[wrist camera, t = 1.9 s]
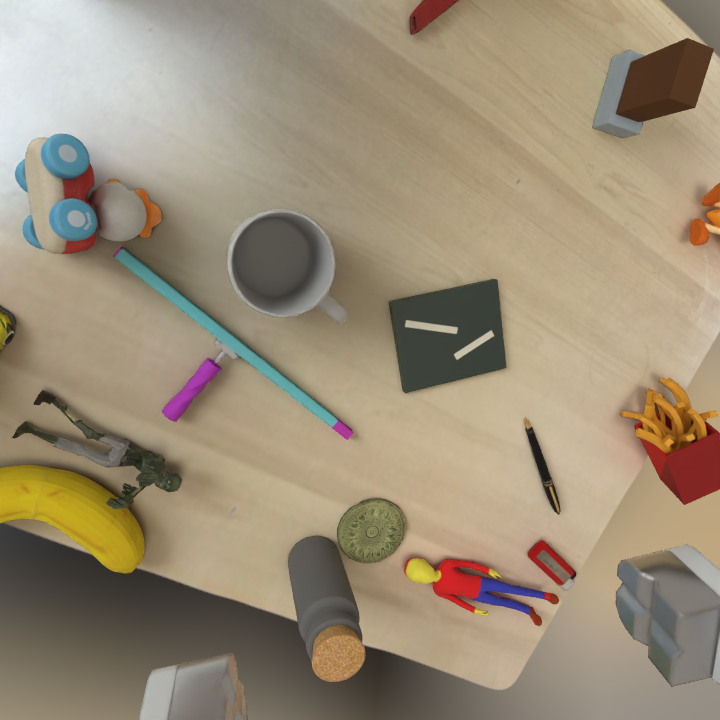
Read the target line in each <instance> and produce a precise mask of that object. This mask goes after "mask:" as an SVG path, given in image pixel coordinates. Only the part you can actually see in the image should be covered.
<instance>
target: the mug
mask: <svg viewBox="0 0 720 720" xmlns="http://www.w3.org/2000/svg"><path fill="white" fill-rule="evenodd" d="M227 263H228V272H229V277H230V280H231V283H232V285H233V287H234V289H235V290H236V292H237V294H238V295H239V296H240V298H241V299H242V300H243V301H244V302H245V303H246V304H247V305H249V306H250V307H251V308H253V309H254V310H256V311H258V312H260V313H262V314H265V315H268V316H272V317H279V318H288V317H294V316H298V315H301V314H303V313H306V312H308V311H309V310H311V309H313V308H314V307H315V306H316V307H318V308H319V309H320V310H322V311H323V312H324V313H325V314H326V315H327V316H329V317H330V318H331V319H332V320H333V321H335V322H336V323H338V324H341V323H343V322H344V321H345V320H346V319H347V317H348V311H347V310H346V309H345V308H344V307H343V306H342V305H341V304H340V303H339V302H337V301H336V300H335V299H334V298H333V297H332V296H331V295H330V294H329V293H328V291H329V290H330V288H331V285H332V283H333V280H334V276H335V270H336V259H335V252H334V248H333V246H332V243H331V241H330V239H329V237H328V235H327V234H326V232H325V231H324V229H323V228H322V227H321V226H320V225H319V224H318V223H317V222H316V221H314V220H313V219H312V218H310V217H309V216H307V215H305V214H303V213H301V212H298V211H295V210H290V209H270V210H266V211H263V212H260V213H258V214H256V215H253V216H251V217H249V218H247V219H246V220H245V221H243V222H242V223H241V224H240V225H239V226H238V227H237V229H236V230H235V231H234V233H233V235H232V236H231V239H230V241H229V245H228V250H227Z"/></svg>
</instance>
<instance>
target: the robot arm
mask: <svg viewBox="0 0 720 720" xmlns="http://www.w3.org/2000/svg"><path fill="white" fill-rule="evenodd" d="M617 576H618V577H619V578H620V579H621V580H622V582H623V583H622V584H621V586H620V587H619V588H618V590H617V591H616V607H617V610H618V613H619V617H620V619H621V621H622V623H623V625H624V626H625V628H626V630H627V631H628V632H629V634H630V635H631V636H632V637H633V639H635V640H637V641H639V642H641V643H642V644H644V645H646V646H648V658H649V659H650V660H651V662H652V663H653V664H654V665H655V666H656V668H657V669H658V670H659V672H660V673H661V674H662V675H663V677H664V678H665V679H666V680H667V682H668V683H669V684H670V685H671V687H673V686H677V685H681V684H686V683H690V682H694V681H698V680H703V679H707V678H711V677H712V680H713V681H715V682H716V683H718V684H719V685H720V569H718V568H717V567H716V566H715V565H714V564H713V563H712V562H710V561H709V560H708V559H707V558H706V557H705V556H704V555H702V554H701V553H700V552H699V551H698V550H697V549H696V548H694V547H692V546H690V545H687V544H686V545H682V546H678V547H674V548H670V549H666V550H664V551H663V550H661V551H657V552H653V553H649V554H645V555H641V556H637V557H633V558H629V559H625V560H621V562H620V563H619V565H618V570H617ZM139 720H248V718H247V704H246V698H245V692H244V689H243V685H242V683H241V682H240V681H238V680H237V664H236V661H235V658H234V654H232V653H230V654H225V655H220V656H215V657H211V658H206V659H201V660H196V661H191V662H186V663H182V664H179V665H175V666H169V667H165V668H160V669H155V670H153V671H152V673H151V675H150V676H149V678H148V682H147V687H146V691H145V696H144V700H143V705H142V709H141V714H140V718H139Z"/></svg>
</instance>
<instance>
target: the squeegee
mask: <svg viewBox="0 0 720 720" xmlns="http://www.w3.org/2000/svg"><path fill="white" fill-rule="evenodd" d="M113 257H114V258H116V259H117V260H118V261H119V262H121V263H122V264H123V265H125V266H126V267H127V268H128V269H130V270H131V271H132V272H134V273H135V274H136V275H137V276H139V277H140V278H141V279H142V280H144V281H145V282H146V283H148V284H149V285H150V286H151V287H153V288H154V289H155V290H156V291H158V292H159V293H160V294H162V295H163V296H164V297H165V298H167V299H168V300H169V301H171V302H172V303H173V304H174V305H176V306H177V307H178V308H179V309H181V310H182V311H183V312H185V313H186V314H187V315H188V316H190V317H191V318H192V319H193V320H195V321H196V322H197V323H199V324H200V325H201V326H202V327H204V328H205V329H206V330H208V331H209V332H210V333H211V334H213V335H214V336H215V337H216V339H217V341H216V342H215V343H214V344H215V345H216V346H217V347H218V348H220V349H221V350H222V352H221V353H220V354H219V355H218V356H217V358H216V360H215V362H214V361H213V360H211V359H209V358H207V360H206V361H205V362H204V363H203V364H202V365H201V367H200V368H199V369H198V371H197V373H196V374H195V375H194V376H193V377H192V378H191V379H190V380H189V381H188V383H187V385H186V386H185V388H184V389H183V390H182V391H181V392H180V393H178V394H177V395H176V396H175V397H174V398H173V399H172V400H171V401H170V402H169V403H168V404H167V406H166V407H165V408H164V409H163V410H162V413H163V414H164V415H165V416H166V417H167V418H168V419H170V420H171V421H175V422H176V421H177V420H178V419H179V418H180V416H181V415H182V414H183V413H184V412H185V411H186V409H187V408H188V406H189V405H190V403H191V402H192V400H193V399H194V397H196V396H197V395H198V394H199V393H200V392H201V391H202V390H203V389H204V388H205V386H206V385H207V383H208V382H210V381H211V380H212V379H213V378H214V377H215V376H216V375H217V374H218V373H219V371H220V370H221V367H220V366H219V365H218V364H217V363H218V362H219V361H221V360H222V359H223V358H224V356H225V355H226V354H227V355H229V356H230V357H231V358H232V359H234V360H235V361H236V360H237V358H238V357H242V358H243V359H245V360H246V361H247V362H248V363H250V364H251V365H252V366H253V367H255V368H256V369H257V370H259V371H260V372H261V373H262V374H264V375H265V376H266V377H267V378H269V379H270V380H271V381H273V382H274V383H275V384H276V385H278V386H279V387H280V388H282V389H283V390H284V391H285V392H287V393H288V394H289V395H290V396H292V397H293V398H294V399H296V400H297V401H298V402H299V403H301V404H302V405H303V406H304V407H306V408H307V409H308V410H310V411H311V412H312V413H313V414H315V415H316V416H317V417H319V418H320V419H321V420H322V421H324V422H325V423H326V424H327V425H329V426H330V427H331V428H333V429H334V430H335V431H336V432H338V433H339V434H340V435H341V436H343V437H344V438H345V439H347V440H348V439H349V437H350V436H351V435H352V434H353V431H352V430H351V428H349V427H348V426H347V425H346V424H344V423H343V422H342V421H340V420H339V419H338V418H337V417H335V416H334V415H333V414H332V413H330V412H329V411H328V410H327V409H325V408H324V407H323V406H322V405H320V404H319V403H318V402H317V401H315V400H314V399H313V398H312V397H310V396H309V395H308V394H307V393H305V392H304V391H303V390H302V389H300V388H299V387H298V386H297V385H295V384H294V383H293V382H292V381H290V380H289V379H288V378H287V377H285V376H284V375H283V374H282V373H280V372H279V371H278V370H276V369H275V368H274V367H273V366H271V365H270V364H269V363H268V362H266V361H265V360H264V359H263V358H261V357H260V356H259V355H258V354H256V353H255V352H254V351H253V350H251V349H250V348H249V347H248V346H246V345H245V344H244V343H243V342H241V341H240V340H239V339H238V338H236V337H235V336H234V335H233V334H231V333H230V332H229V331H228V330H226V329H225V328H224V327H222V326H221V325H220V324H219V323H217V322H216V321H215V320H214V319H212V318H211V317H210V316H209V315H207V314H206V313H205V312H204V311H202V310H201V309H200V308H199V307H197V306H196V305H195V304H194V303H192V302H191V301H190V300H189V299H187V298H186V297H185V296H184V295H182V294H181V293H180V292H179V291H177V290H176V289H175V288H174V287H172V286H171V285H170V284H168V283H167V282H166V281H165V280H163V279H162V278H161V277H160V276H158V275H157V274H156V273H155V272H153V271H152V270H151V269H150V268H148V267H147V266H146V265H145V264H143V263H142V262H141V261H140V260H138V259H137V258H136V257H135V256H133V255H132V254H131V253H130V252H128V251H127V250H126V249H125V248H123V247H121V248H120V249H119V250H118V251H117V252H116V253H115V254H114V256H113Z"/></svg>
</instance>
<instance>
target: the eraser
mask: <svg viewBox="0 0 720 720" xmlns="http://www.w3.org/2000/svg"><path fill="white" fill-rule="evenodd" d="M713 50H714V49H713V48H710V47H708V46H705V45H703V44H701V43H698V42H696V41H694V40H691V39H689V38H687V39H684V40H682V41H679V42H677V43H675V44H672V45H670V46H668V47H665V48H663V49H660V50H658V51H656V52H653V53H651V54H648V55H646V56H644V55H642V54H639V53H637V52H634V51H632V50H627V51H625V52H623V53H621V54H618V55H616V56H614V57H612V60H611V64H610V67H609V71H608V74H607V78H606V81H605V85H604V88H603V92H602V95H601V99H600V102H599V106H598V109H597V113H596V116H595V120H594V123H593V127H592V128H595V129H598V130H601V131H604V132H607V133H610V134H612V135H615V136H618V137H621V138H625V137H630V136H634V135H638V134H640V131H641V128H642V125H643V122H644V121H646V120H650V119H654V118H658V117H662V116H665V115H669V114H673V113H677V112H681V111H684V110H688V109H692V108H695V107H696V104H697V100H698V97H699V94H700V91H701V88H702V85H703V82H704V78H705V75H706V72H707V69H708V66H709V63H710V60H711V56H712V53H713Z"/></svg>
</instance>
